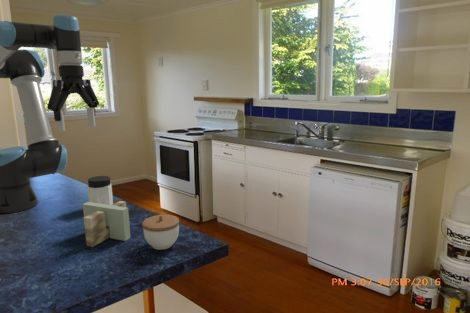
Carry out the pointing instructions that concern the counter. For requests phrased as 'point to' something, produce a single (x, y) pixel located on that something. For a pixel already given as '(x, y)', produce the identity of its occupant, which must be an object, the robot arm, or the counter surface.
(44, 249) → the counter surface
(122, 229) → the sage plate
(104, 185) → the jar
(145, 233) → the lidded jar
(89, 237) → the beech u-shaped block
